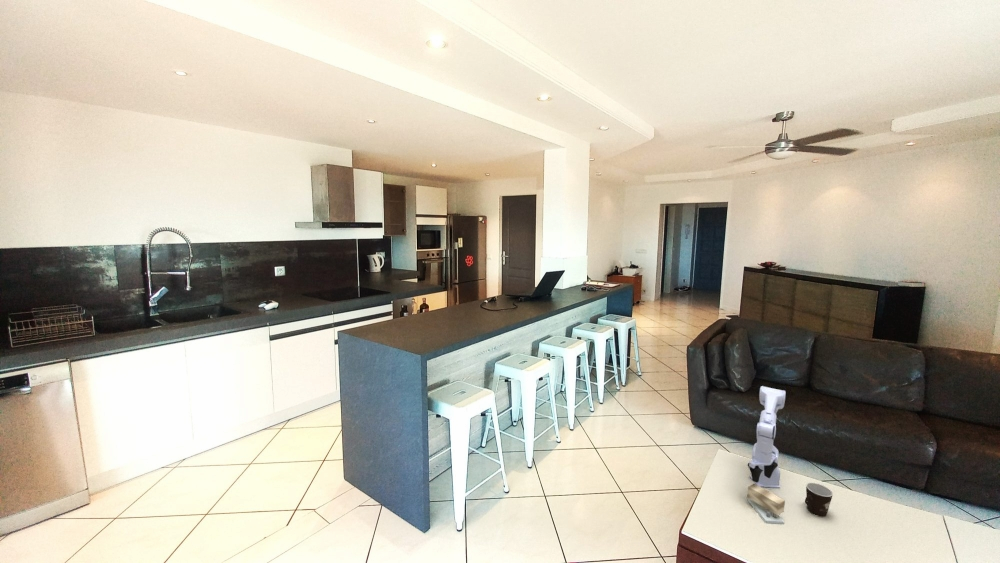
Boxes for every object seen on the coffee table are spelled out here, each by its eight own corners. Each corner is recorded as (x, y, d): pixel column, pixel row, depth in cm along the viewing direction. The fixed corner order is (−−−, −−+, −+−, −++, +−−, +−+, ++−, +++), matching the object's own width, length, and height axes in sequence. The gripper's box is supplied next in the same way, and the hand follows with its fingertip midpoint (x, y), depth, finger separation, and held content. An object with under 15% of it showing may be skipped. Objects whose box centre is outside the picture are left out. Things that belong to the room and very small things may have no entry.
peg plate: (746, 498, 170) (747, 492, 170) (763, 499, 170) (764, 493, 169) (765, 522, 157) (766, 516, 156) (783, 524, 156) (784, 517, 156)
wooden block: (783, 511, 159) (784, 500, 158) (777, 515, 157) (778, 504, 156) (753, 493, 169) (754, 483, 168) (747, 497, 167) (748, 486, 166)
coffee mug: (820, 504, 167) (823, 483, 165) (835, 519, 158) (838, 497, 157) (791, 502, 168) (793, 481, 166) (804, 517, 159) (807, 495, 158)
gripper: (766, 441, 174) (763, 469, 175) (743, 448, 168) (740, 477, 170) (782, 450, 167) (779, 479, 169) (759, 457, 162) (756, 487, 164)
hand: (761, 479), depth 169 cm, fingers open, 7 cm apart
